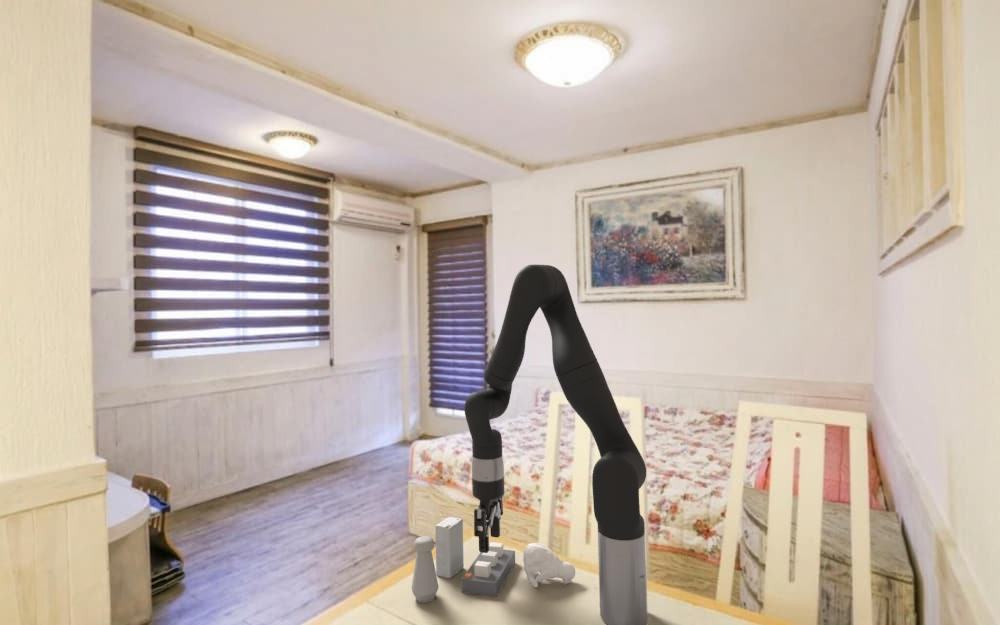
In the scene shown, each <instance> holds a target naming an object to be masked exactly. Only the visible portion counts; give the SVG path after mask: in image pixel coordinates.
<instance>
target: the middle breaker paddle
mask: <svg viewBox="0 0 1000 625" xmlns="http://www.w3.org/2000/svg"><path fill="white" fill-rule="evenodd" d="M481 557H482V561H484V562H491V566H493V567H495V566H496V564H497V562H498V559H497V552H492V551H488V553H482V555H481Z"/></svg>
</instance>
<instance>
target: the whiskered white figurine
mask: <svg viewBox="0 0 1000 625" xmlns="http://www.w3.org/2000/svg"><path fill="white" fill-rule="evenodd" d="M522 560H523V569H524V573H525V575H526V577H527V578H526V579H527V580H528V581H529V583H530V584H531V586H532V587H534V588H538V587H539V583H540V582H544V581H547V580H549V579H555V578H557V579H561V580H562V583H563V586H565V585H567V584H570V583H571V581H573V579H575V577H576V569H575V566H574V565H573V564H572V563H570V562H568V561H563V560H562V559H561V558H560V557H559V556H558V555H557V554H556V553H554V551H553V550H552V549H550V548H549V547H547V546H546V545H545V544H543V543H539V542H532V543H529V544H526V546H525V548H524V551H523V559H522Z"/></svg>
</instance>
